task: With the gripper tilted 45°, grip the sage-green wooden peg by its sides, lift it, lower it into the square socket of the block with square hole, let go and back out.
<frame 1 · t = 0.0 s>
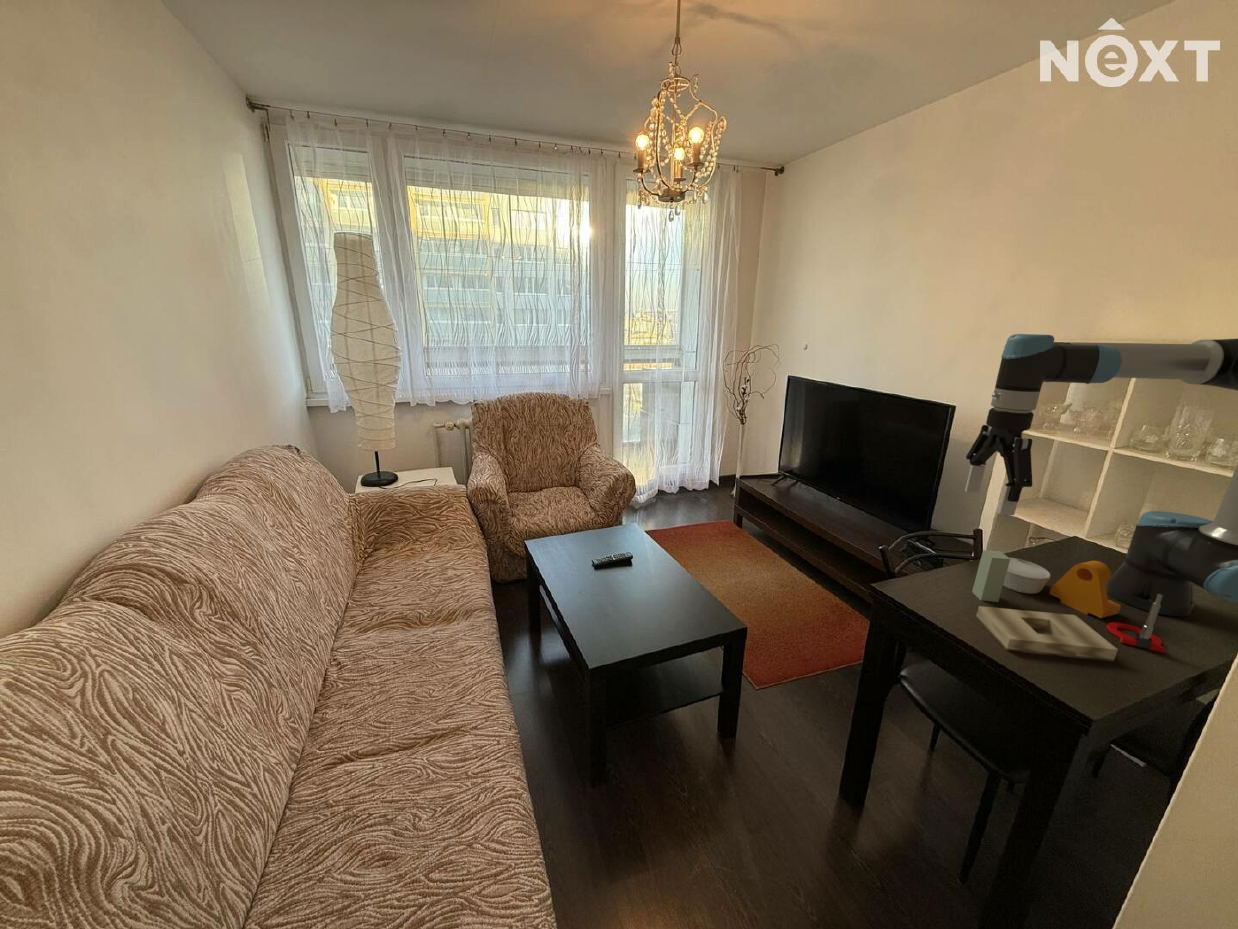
hand: (987, 502, 108), 28 cm above the table, tool pointing down, fingers open, 13 cm apart
block with square hole: (1040, 638, 106), on the table
peg: (984, 596, 122), on the table
bracket: (1082, 606, 119), on the table
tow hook: (1132, 638, 107), on the table
ramekin: (1017, 585, 128), on the table
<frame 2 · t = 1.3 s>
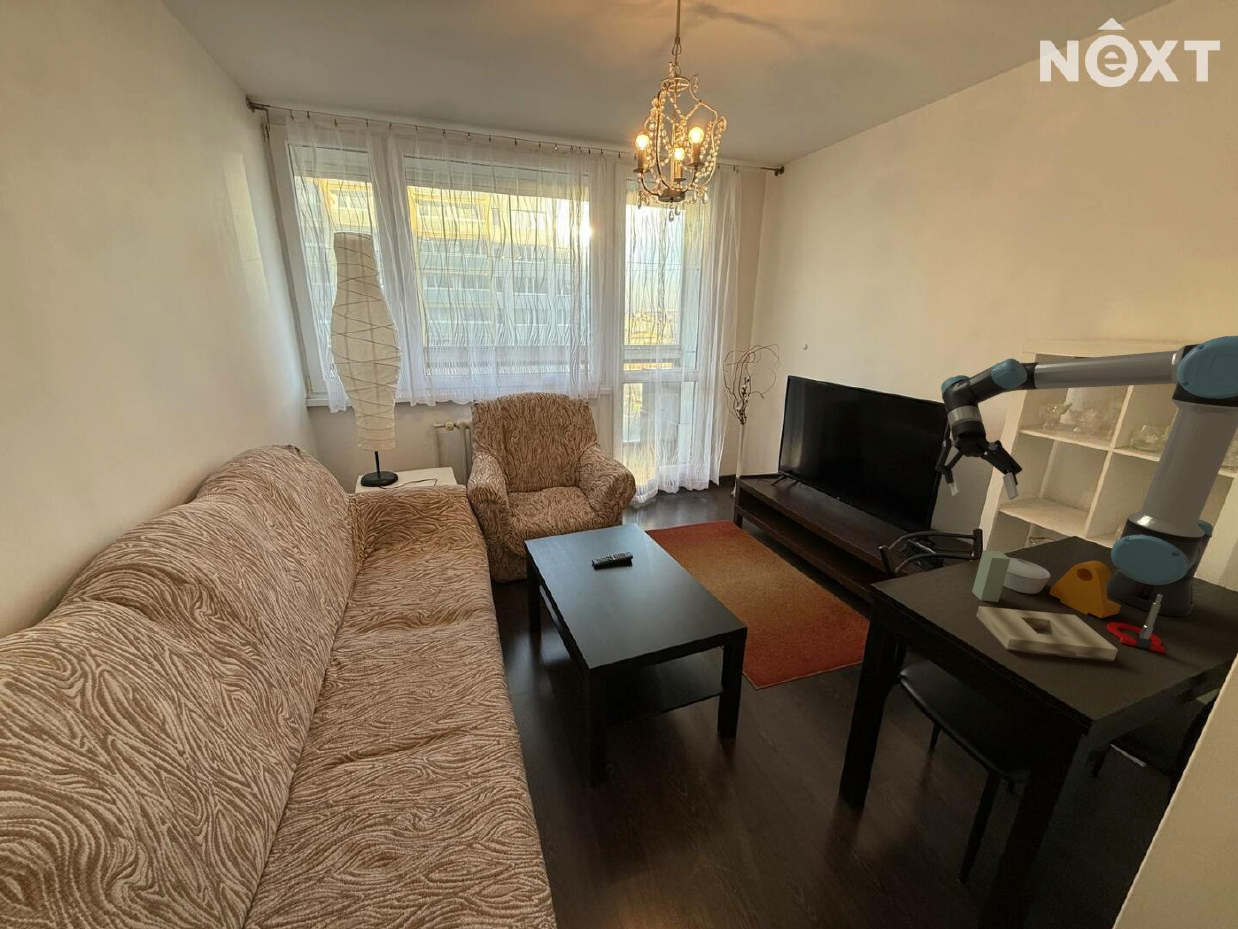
hand: (985, 496, 124), 24 cm above the table, tool tilted 45°, fingers open, 13 cm apart
nothing on the table moved.
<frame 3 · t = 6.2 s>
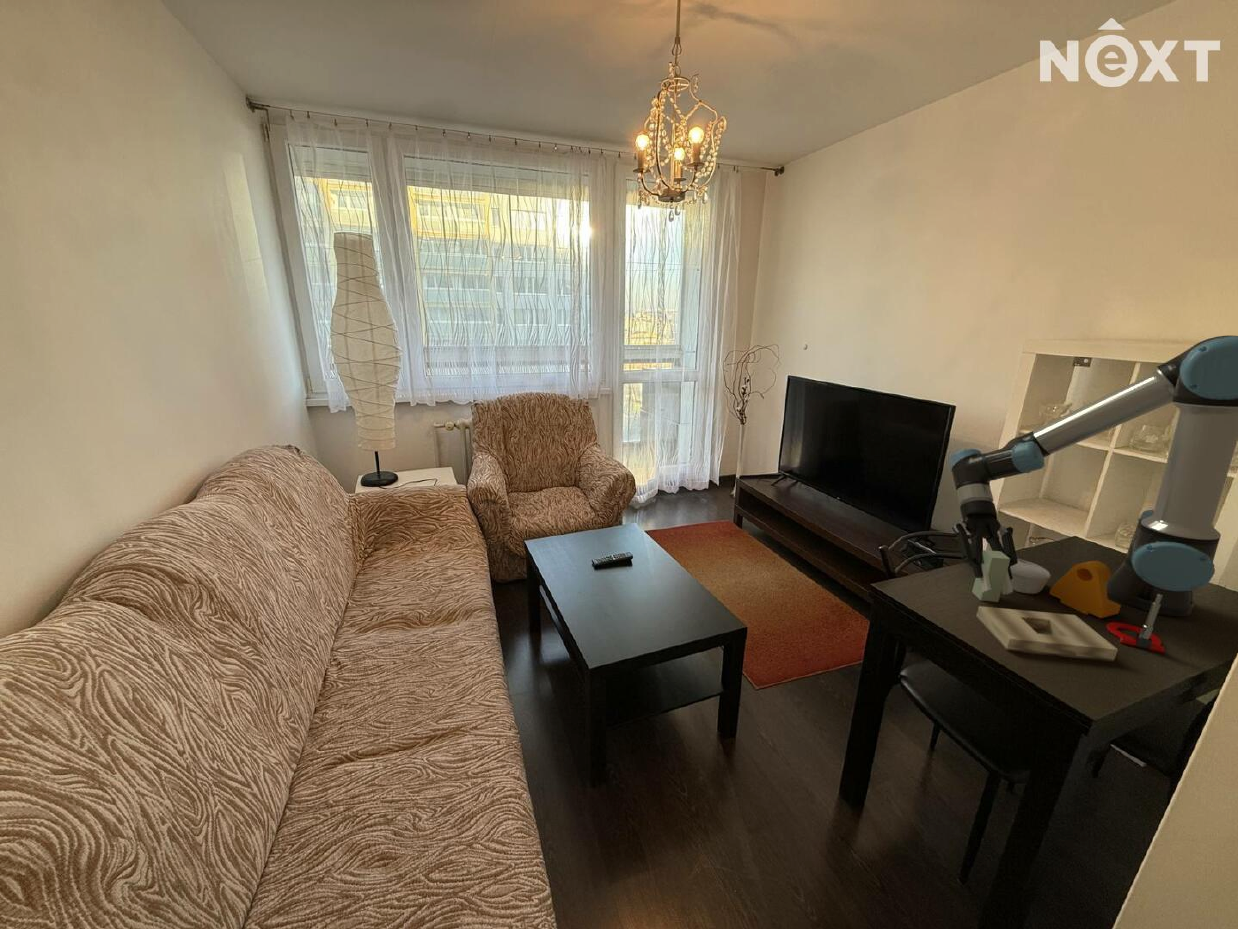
hand: (997, 592, 117), 4 cm above the table, tool tilted 45°, fingers closed on peg, 4 cm apart
peg: (984, 596, 122), on the table, touching gripper
everything else where it was.
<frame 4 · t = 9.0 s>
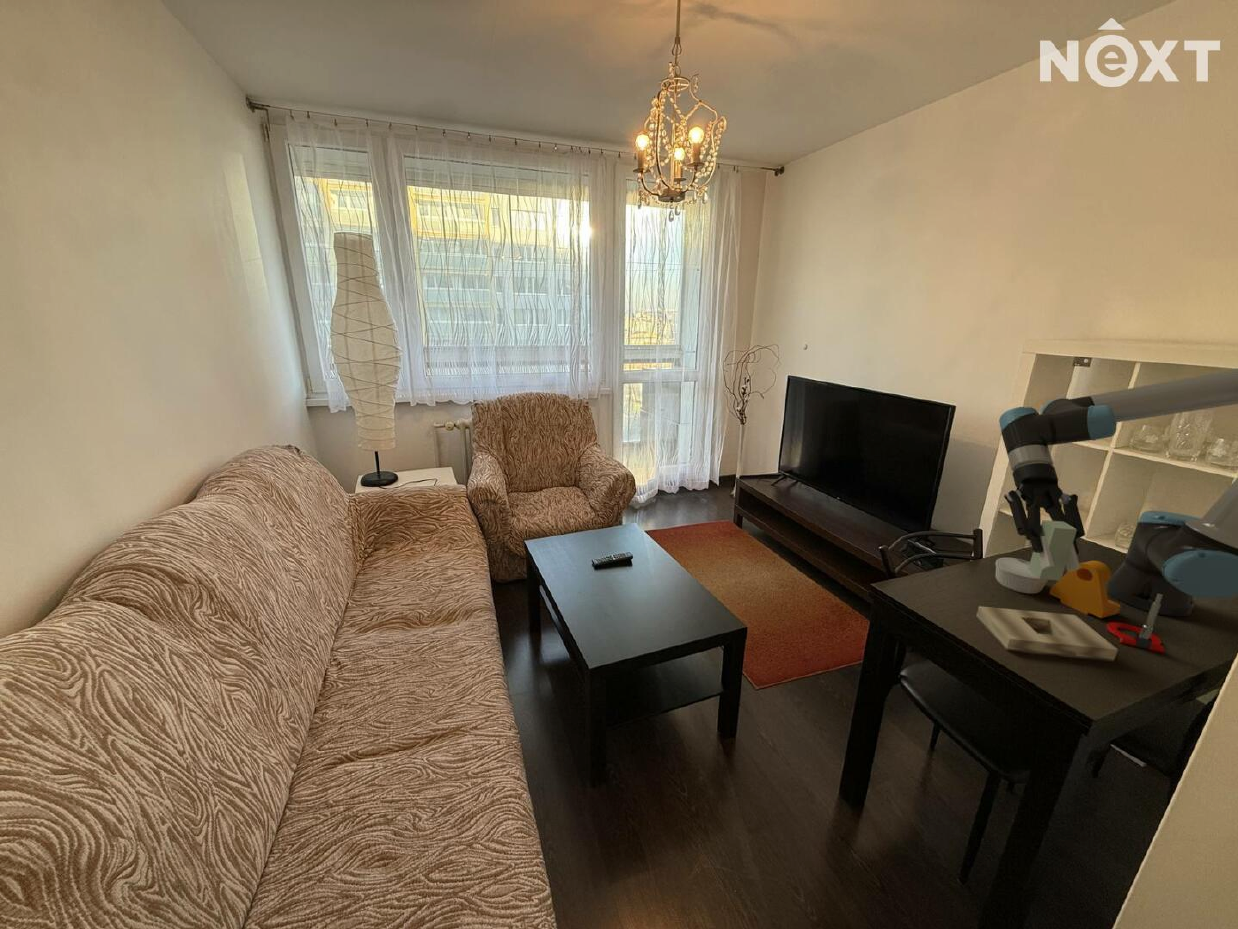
hand: (1060, 568, 100), 18 cm above the table, tool tilted 45°, fingers closed on peg, 4 cm apart
peg: (1044, 575, 105), point 14 cm above the table, touching gripper
everything else where it was.
when the fingers open (5 cm above the table, at t = 11.9 s): peg stays where it is, resting on block with square hole.
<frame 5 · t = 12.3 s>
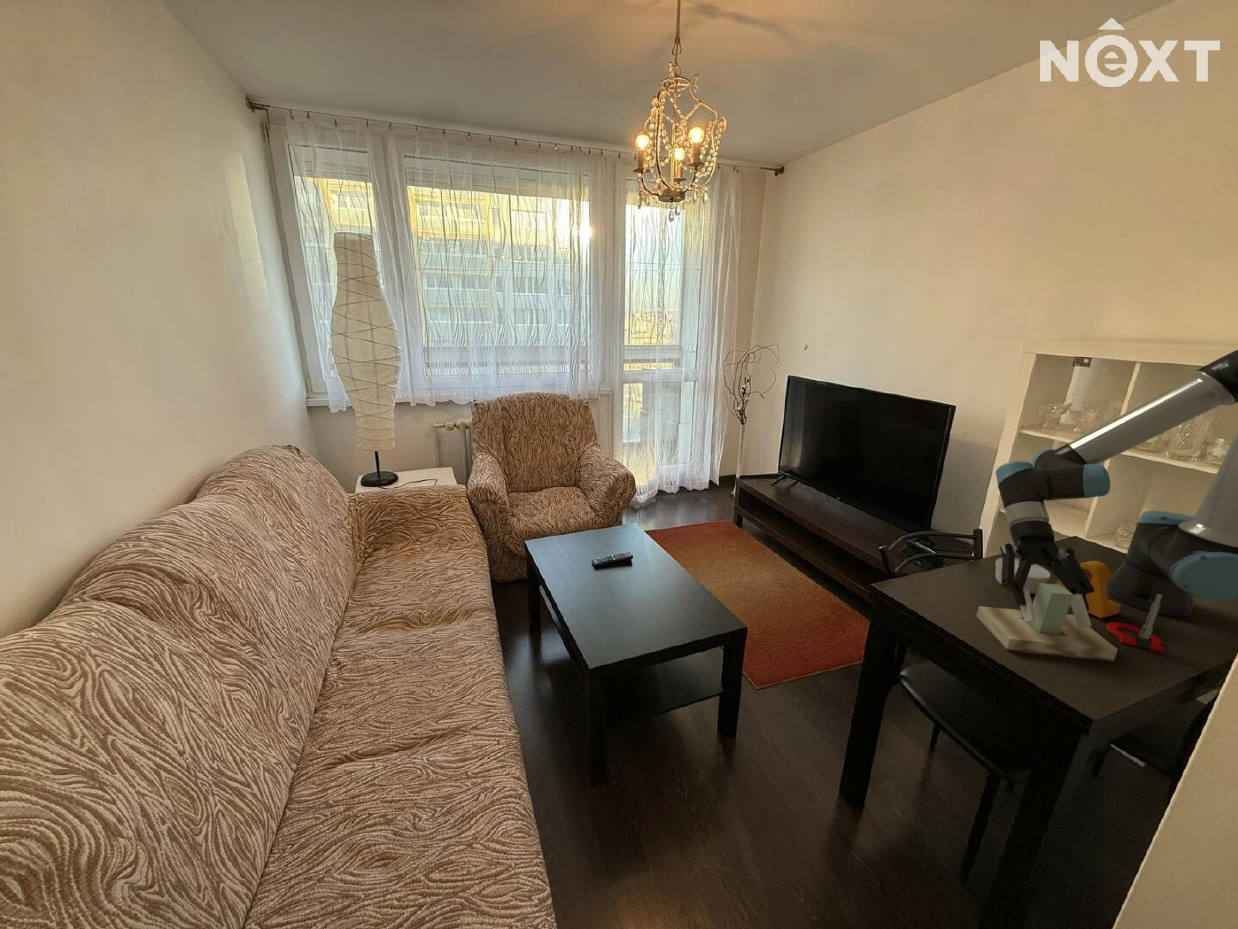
hand: (1057, 624, 102), 6 cm above the table, tool tilted 45°, fingers open, 9 cm apart
peg: (1040, 636, 106), resting on block with square hole
everything else where it was.
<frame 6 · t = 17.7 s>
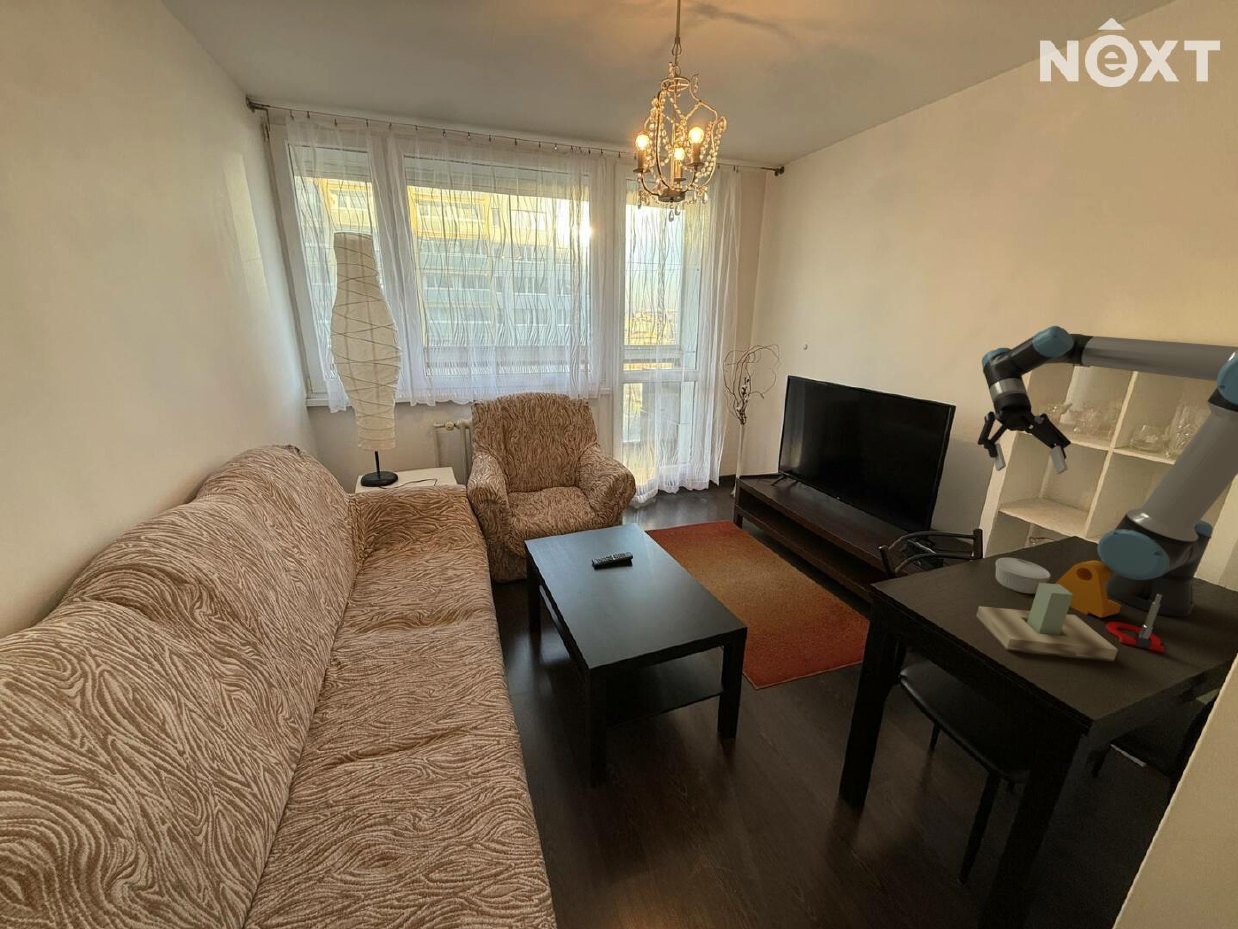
hand: (1031, 470, 119), 32 cm above the table, tool tilted 45°, fingers open, 13 cm apart
bracket: (1082, 606, 119), on the table, touching arm
everything else where it was.
at the end: peg 0.0 cm off-centre on the block with square hole, point 0.5 cm above the block with square hole's base; peg tilted 0°; the gripper is holding nothing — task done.
